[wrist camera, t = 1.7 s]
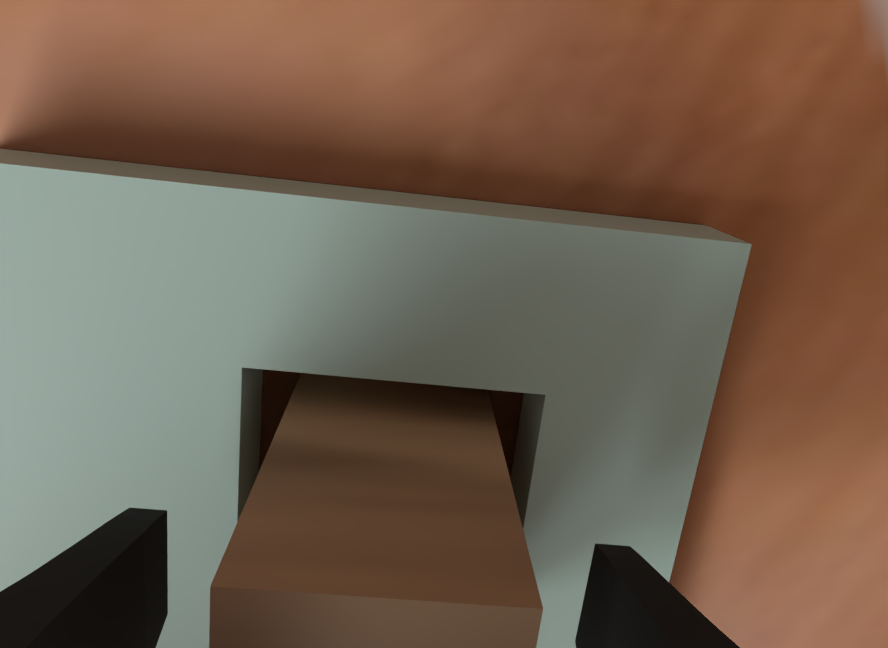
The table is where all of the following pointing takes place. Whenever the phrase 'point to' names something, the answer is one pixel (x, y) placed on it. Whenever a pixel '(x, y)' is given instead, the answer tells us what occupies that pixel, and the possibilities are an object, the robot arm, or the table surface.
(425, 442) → the walnut block
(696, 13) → the table surface
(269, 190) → the pocket board
